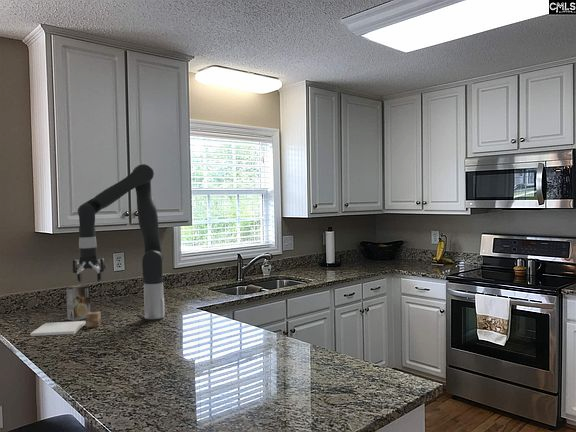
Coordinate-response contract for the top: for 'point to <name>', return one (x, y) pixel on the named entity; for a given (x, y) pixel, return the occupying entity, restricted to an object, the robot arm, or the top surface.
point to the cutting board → (58, 328)
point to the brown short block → (93, 319)
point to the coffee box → (78, 302)
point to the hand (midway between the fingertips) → (89, 281)
